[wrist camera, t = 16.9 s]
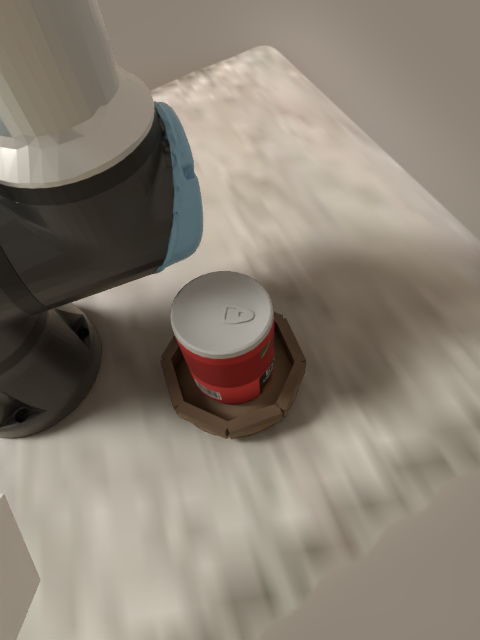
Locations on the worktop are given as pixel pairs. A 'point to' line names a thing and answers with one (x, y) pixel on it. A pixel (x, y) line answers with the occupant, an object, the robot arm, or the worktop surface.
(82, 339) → the robot arm
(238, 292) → the canned food
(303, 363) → the walnut tray
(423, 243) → the worktop surface
